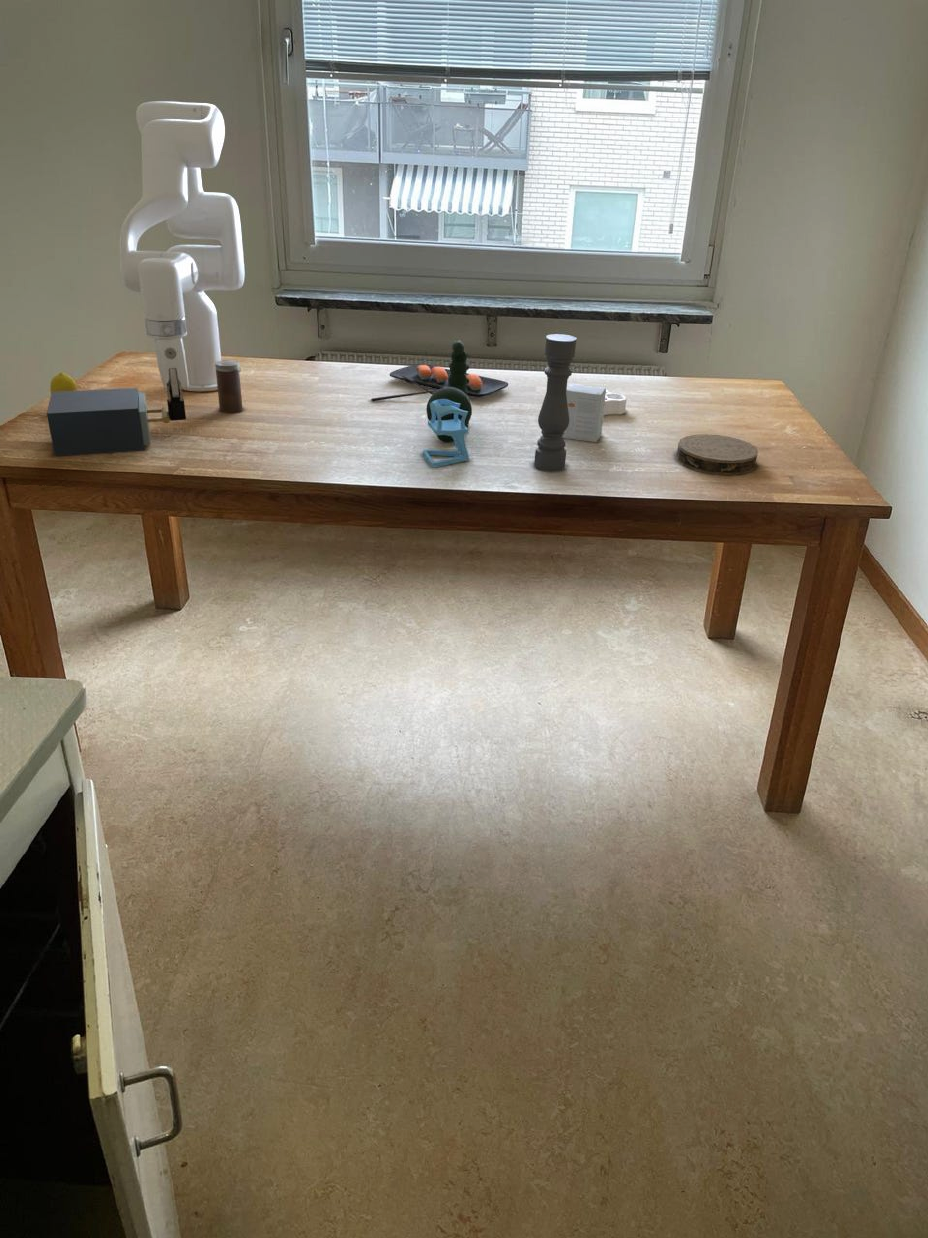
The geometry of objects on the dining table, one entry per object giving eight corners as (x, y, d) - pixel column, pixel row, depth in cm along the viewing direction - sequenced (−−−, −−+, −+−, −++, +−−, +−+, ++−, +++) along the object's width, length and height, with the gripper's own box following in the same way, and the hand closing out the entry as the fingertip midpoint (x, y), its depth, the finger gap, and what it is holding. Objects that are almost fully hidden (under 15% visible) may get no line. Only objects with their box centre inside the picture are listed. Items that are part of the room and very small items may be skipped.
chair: (472, 464, 177) (475, 405, 171) (431, 467, 174) (433, 407, 168) (461, 451, 183) (463, 393, 177) (422, 454, 181) (423, 395, 175)
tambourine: (707, 478, 175) (710, 464, 174) (661, 452, 188) (663, 438, 186) (771, 469, 181) (774, 455, 179) (722, 444, 193) (725, 431, 192)
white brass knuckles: (618, 400, 219) (629, 418, 207) (545, 397, 218) (551, 416, 206) (619, 386, 218) (631, 404, 205) (546, 384, 217) (553, 402, 204)
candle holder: (531, 460, 180) (542, 333, 168) (562, 460, 181) (574, 334, 168) (536, 471, 175) (547, 341, 162) (567, 471, 175) (581, 341, 163)
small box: (601, 435, 195) (607, 387, 190) (596, 443, 191) (602, 394, 186) (566, 430, 198) (570, 382, 192) (560, 437, 193) (564, 389, 188)
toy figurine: (436, 421, 204) (420, 448, 182) (439, 335, 196) (423, 352, 174) (477, 424, 204) (466, 452, 181) (482, 338, 196) (471, 356, 173)
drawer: (170, 422, 189) (166, 391, 186) (172, 443, 178) (168, 410, 175) (70, 428, 183) (64, 396, 180) (66, 449, 173) (60, 416, 169)
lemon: (85, 406, 199) (79, 370, 195) (73, 413, 194) (67, 376, 190) (61, 404, 199) (54, 368, 195) (49, 411, 195) (42, 375, 190)
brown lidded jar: (235, 405, 204) (230, 358, 198) (246, 410, 201) (242, 363, 195) (215, 409, 201) (210, 362, 195) (227, 414, 198) (222, 367, 192)
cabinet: (143, 427, 188) (137, 387, 184) (144, 450, 177) (138, 408, 172) (59, 432, 184) (51, 391, 179) (54, 455, 172) (46, 413, 168)
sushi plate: (512, 390, 223) (513, 375, 221) (446, 419, 201) (447, 402, 199) (417, 369, 236) (417, 355, 234) (345, 395, 214) (345, 379, 212)
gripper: (189, 335, 168) (200, 429, 178) (182, 317, 180) (193, 406, 190) (147, 336, 166) (161, 432, 175) (143, 319, 178) (156, 409, 187)
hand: (177, 418), depth 183 cm, fingers closed
